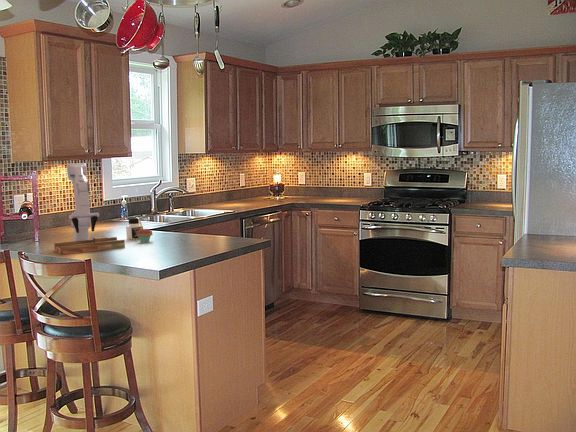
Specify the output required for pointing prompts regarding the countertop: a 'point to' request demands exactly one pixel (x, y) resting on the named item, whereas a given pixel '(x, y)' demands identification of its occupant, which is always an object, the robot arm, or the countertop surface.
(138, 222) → the medicine bottle
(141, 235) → the cupcake
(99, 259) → the countertop surface
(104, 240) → the walnut block
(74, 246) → the box
